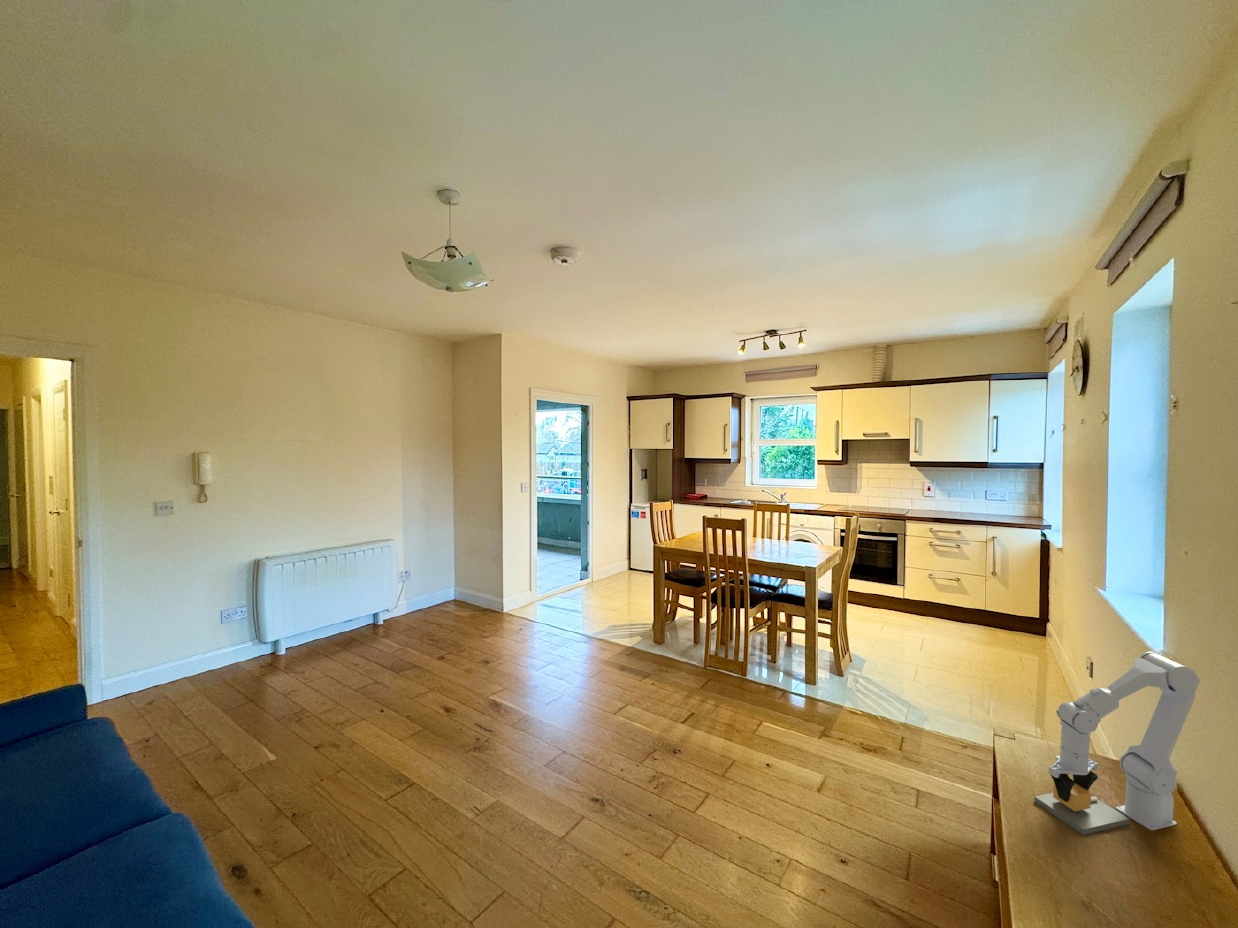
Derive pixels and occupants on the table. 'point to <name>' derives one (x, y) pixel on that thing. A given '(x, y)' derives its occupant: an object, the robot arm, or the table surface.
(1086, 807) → the light wooden brick
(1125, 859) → the table surface
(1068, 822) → the flat gray rectangular board
